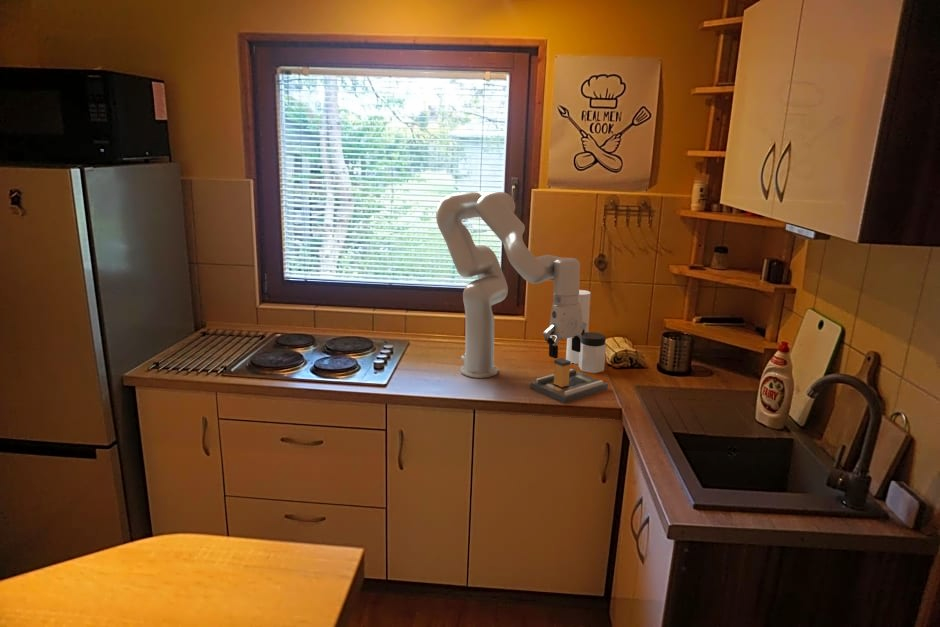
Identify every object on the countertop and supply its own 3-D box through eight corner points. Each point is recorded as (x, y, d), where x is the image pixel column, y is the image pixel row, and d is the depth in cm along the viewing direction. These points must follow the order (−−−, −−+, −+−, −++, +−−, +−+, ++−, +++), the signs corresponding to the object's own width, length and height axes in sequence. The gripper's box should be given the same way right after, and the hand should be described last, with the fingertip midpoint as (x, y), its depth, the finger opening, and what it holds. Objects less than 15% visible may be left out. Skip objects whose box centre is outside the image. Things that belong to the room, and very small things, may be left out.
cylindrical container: (571, 356, 229) (575, 289, 222) (589, 360, 225) (594, 291, 218) (562, 361, 223) (565, 292, 217) (580, 365, 219) (584, 295, 213)
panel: (530, 388, 198) (530, 381, 198) (572, 375, 209) (573, 369, 209) (564, 403, 187) (564, 397, 186) (607, 389, 198) (607, 383, 197)
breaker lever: (553, 383, 196) (554, 359, 194) (560, 381, 198) (561, 358, 196) (561, 387, 193) (563, 363, 191) (569, 385, 195) (570, 361, 193)
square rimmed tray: (535, 381, 198) (535, 378, 198) (571, 371, 207) (571, 368, 207) (566, 395, 187) (566, 392, 187) (603, 384, 197) (603, 381, 196)
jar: (590, 375, 210) (592, 340, 207) (573, 367, 217) (575, 334, 213) (609, 370, 215) (611, 336, 212) (592, 363, 221) (594, 330, 218)
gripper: (554, 306, 180) (552, 363, 184) (595, 297, 190) (593, 351, 194) (536, 301, 186) (535, 356, 190) (577, 293, 196) (575, 346, 200)
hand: (564, 354), depth 192 cm, fingers open, 9 cm apart
